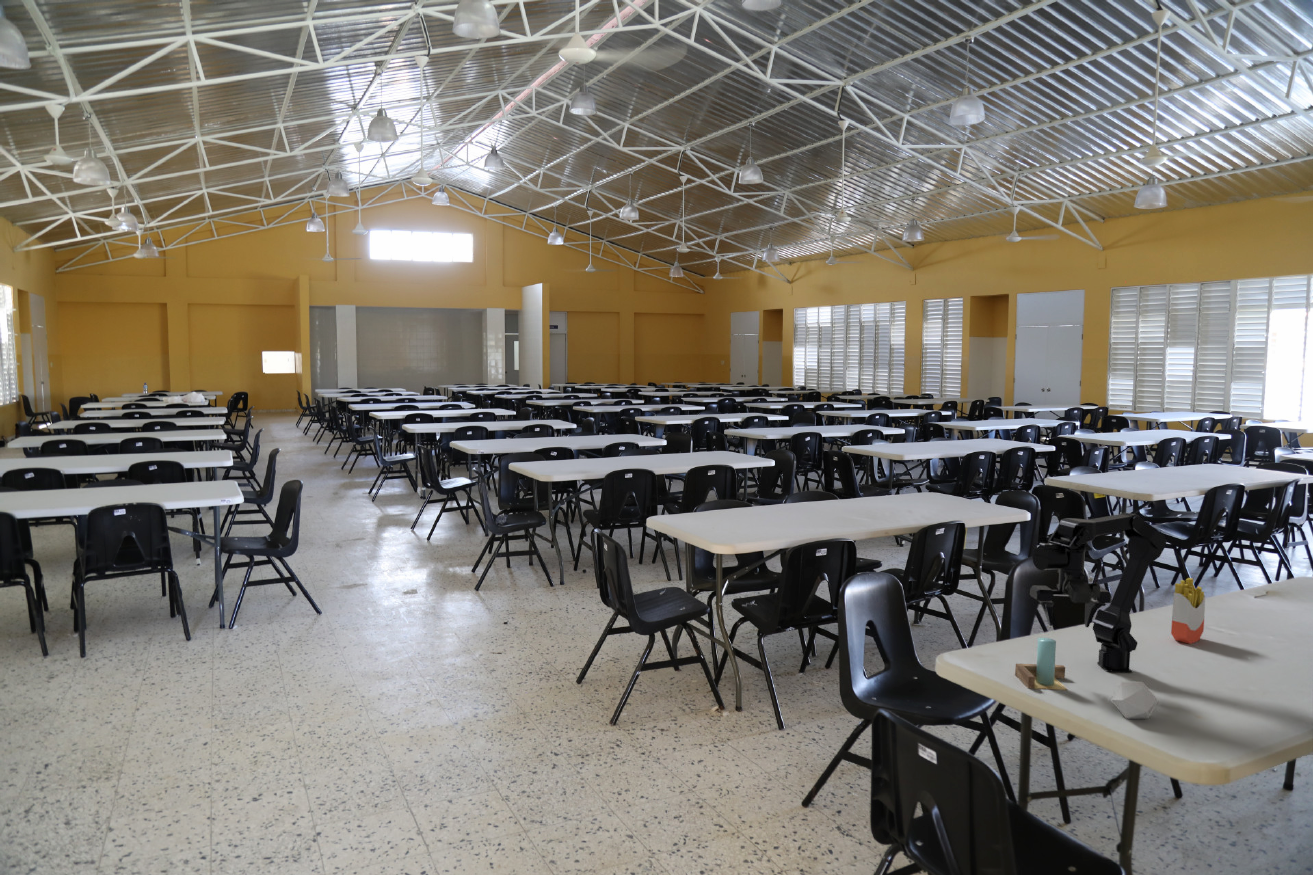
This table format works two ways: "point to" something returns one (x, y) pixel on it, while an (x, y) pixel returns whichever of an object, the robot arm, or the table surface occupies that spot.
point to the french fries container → (1188, 612)
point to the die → (1134, 700)
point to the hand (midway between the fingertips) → (1068, 626)
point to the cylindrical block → (1046, 661)
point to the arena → (1029, 676)
